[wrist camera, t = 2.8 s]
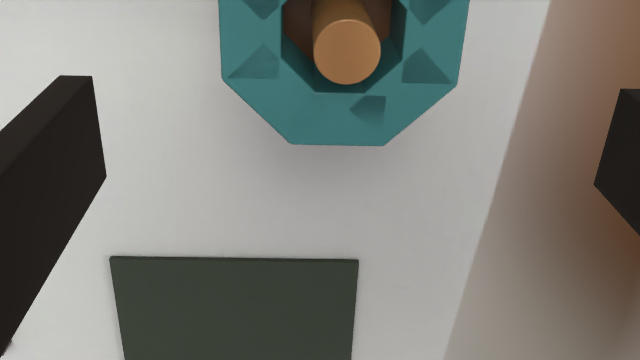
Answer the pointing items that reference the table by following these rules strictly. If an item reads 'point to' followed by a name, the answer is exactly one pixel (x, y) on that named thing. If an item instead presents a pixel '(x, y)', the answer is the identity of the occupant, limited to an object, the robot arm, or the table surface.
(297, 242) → the table surface
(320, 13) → the ring stand
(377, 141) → the ring
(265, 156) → the table surface
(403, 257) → the table surface
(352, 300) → the mat
